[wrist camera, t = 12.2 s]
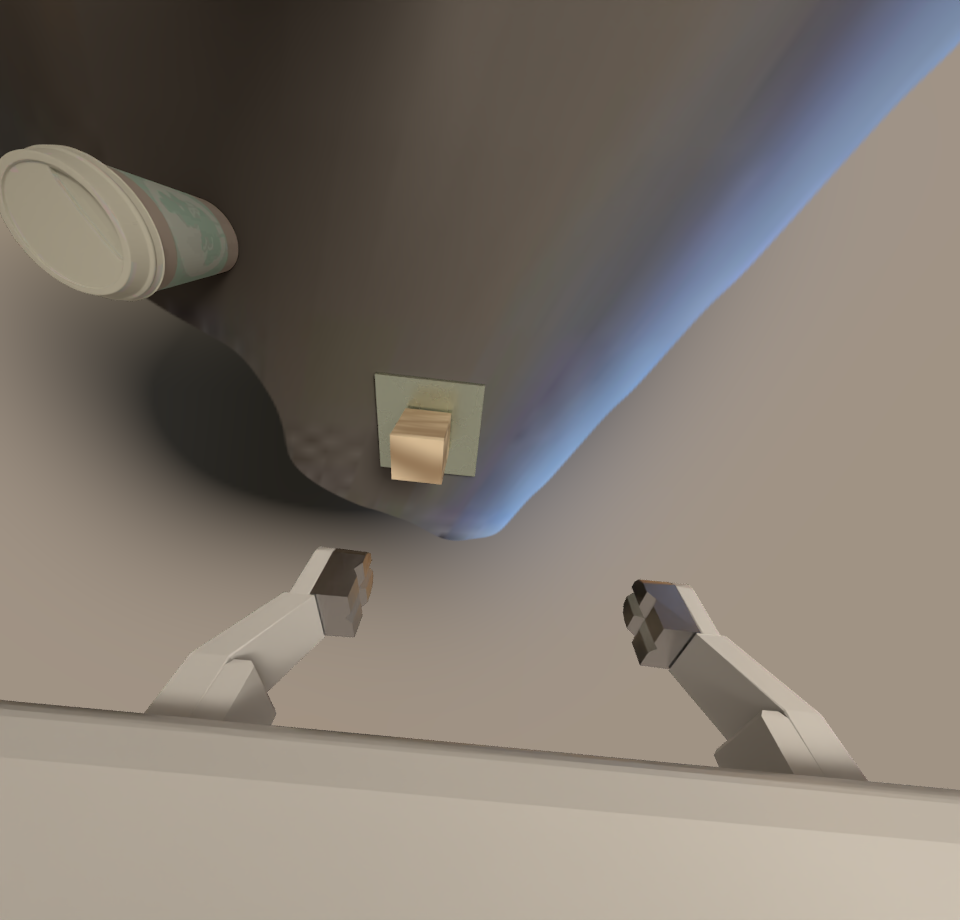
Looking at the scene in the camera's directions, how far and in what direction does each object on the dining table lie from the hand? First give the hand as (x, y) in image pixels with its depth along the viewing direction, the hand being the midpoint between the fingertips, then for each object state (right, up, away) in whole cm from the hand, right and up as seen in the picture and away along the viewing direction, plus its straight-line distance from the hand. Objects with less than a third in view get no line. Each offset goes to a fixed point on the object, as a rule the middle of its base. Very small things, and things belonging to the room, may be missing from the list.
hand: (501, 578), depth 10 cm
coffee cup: (-26, +24, +21) cm, 41 cm away
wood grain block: (-7, +7, +29) cm, 31 cm away
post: (-7, +8, +30) cm, 32 cm away
